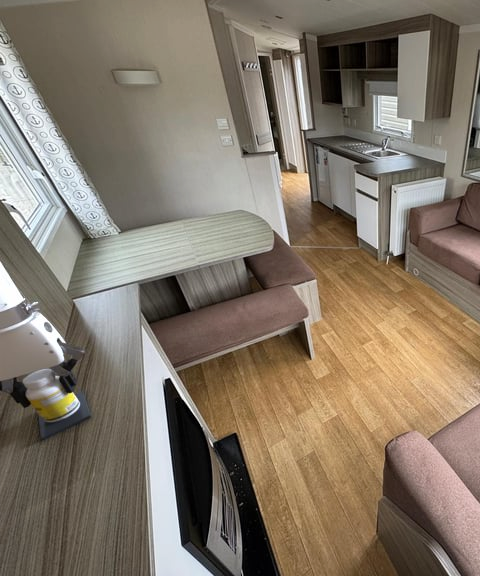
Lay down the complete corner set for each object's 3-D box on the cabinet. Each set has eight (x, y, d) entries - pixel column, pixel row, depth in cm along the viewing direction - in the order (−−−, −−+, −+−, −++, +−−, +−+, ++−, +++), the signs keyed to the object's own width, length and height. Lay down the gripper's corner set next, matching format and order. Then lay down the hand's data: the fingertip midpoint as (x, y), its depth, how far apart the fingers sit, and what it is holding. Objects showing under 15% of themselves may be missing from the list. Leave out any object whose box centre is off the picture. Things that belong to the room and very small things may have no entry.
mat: (39, 412, 62) (37, 409, 62) (84, 392, 67) (82, 390, 67) (42, 440, 56) (40, 438, 56) (91, 417, 61) (90, 415, 61)
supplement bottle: (43, 412, 61) (16, 376, 57) (79, 397, 65) (56, 362, 61) (44, 428, 58) (16, 390, 54) (82, 411, 62) (58, 374, 57)
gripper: (70, 294, 58) (109, 367, 66) (-71, 323, 50) (-6, 402, 58) (61, 311, 53) (105, 388, 61) (-99, 346, 44) (-23, 431, 52)
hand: (50, 394), depth 59 cm, fingers closed on supplement bottle, 5 cm apart
